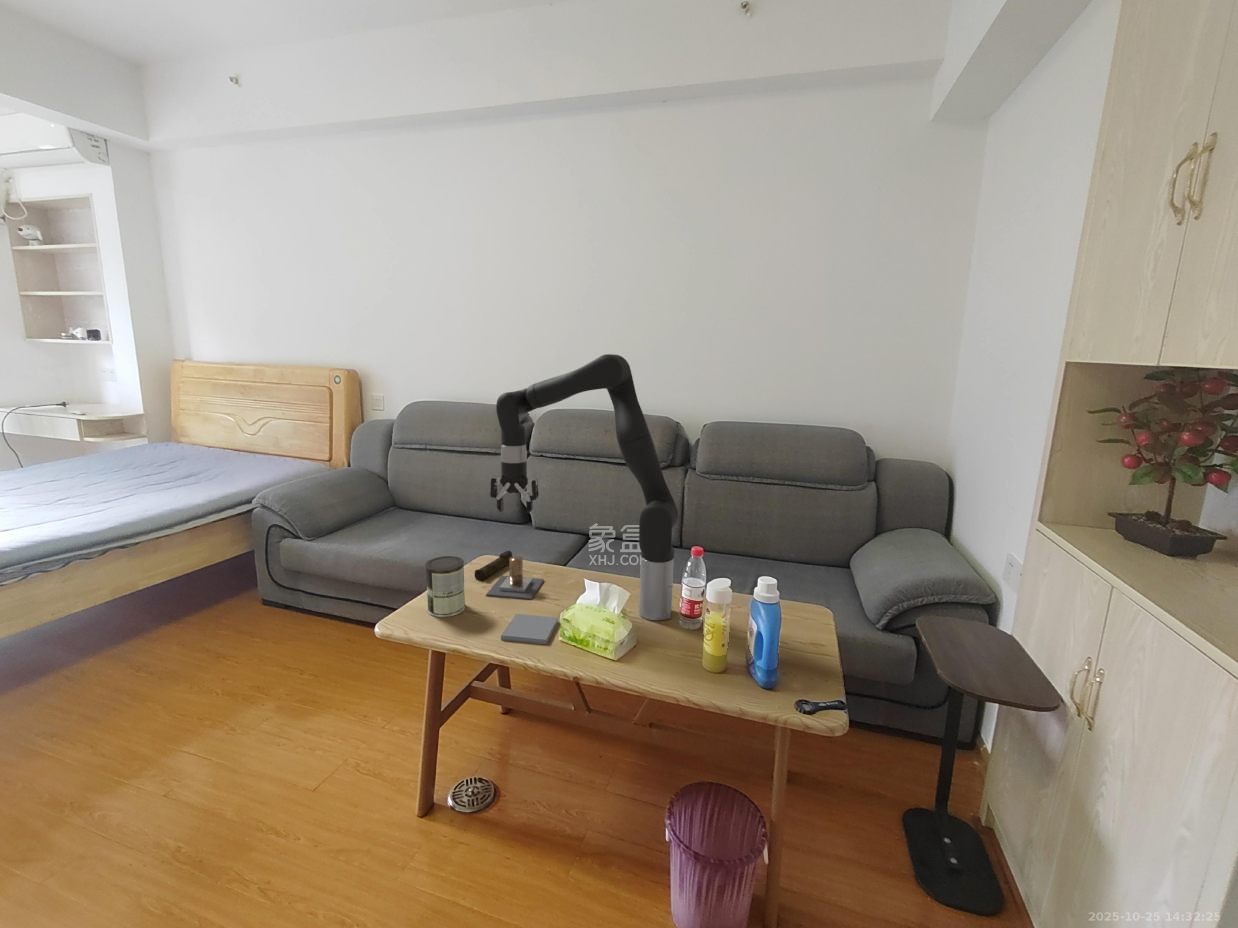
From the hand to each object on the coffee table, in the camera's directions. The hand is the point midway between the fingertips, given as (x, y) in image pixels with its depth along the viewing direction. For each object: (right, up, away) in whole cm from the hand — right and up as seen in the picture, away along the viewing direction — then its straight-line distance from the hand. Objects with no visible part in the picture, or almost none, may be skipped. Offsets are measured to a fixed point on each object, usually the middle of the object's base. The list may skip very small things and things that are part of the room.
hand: (514, 511), depth 168 cm
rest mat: (-1, -24, +5) cm, 25 cm away
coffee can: (-18, -27, -9) cm, 34 cm away
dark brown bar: (-10, -22, +19) cm, 30 cm away
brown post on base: (0, -24, +5) cm, 24 cm away
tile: (+9, -27, -15) cm, 32 cm away
